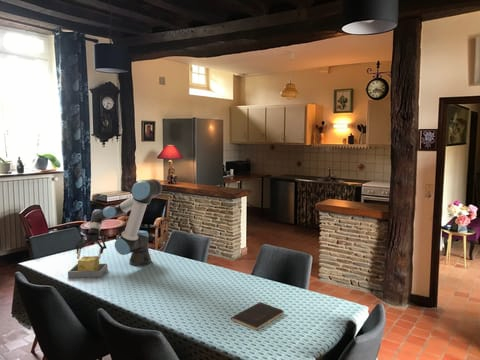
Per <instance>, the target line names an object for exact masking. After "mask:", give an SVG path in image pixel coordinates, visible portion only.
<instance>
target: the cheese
mask: <svg viewBox="0 0 480 360" xmlns="http://www.w3.org/2000/svg"><path fill="white" fill-rule="evenodd" d="M77 264H78V271H99V264H100V259H99V258H98V255H96V256H95V255H91V256H85V255H84V256H83V257H81V258H79V259H77Z"/></svg>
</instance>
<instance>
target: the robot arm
mask: <svg viewBox="0 0 480 360" xmlns="http://www.w3.org/2000/svg"><path fill="white" fill-rule="evenodd" d="M131 188H132V189H131V193H132V196H130V197H129V198H127V199H125V200H124V201H123V202H121V203H119V204H117V205H115V206H106V207H104V208H103V209H99V208H98V209H94V210H93V211H92V213H91V218H90V223H89V226H88V232H87V235H86V236H85V235H82V236H81V238H80V240H79V241H78V242H77V244H76V245H74V249H75V250H76V252H75V253H76V259H77V260H80V256H81V253H82V249H83V248H84V247H85V246H87V245H88V244H93V243H96V244H97V245H98V247H99V249H98V250H99V251H98V255H97V256H98V258H99V260H100V259H101V258H102V257H101V255H103V253H104V250H105V249H107V245H106V243H105V240H104V235H100V234H101V228H102V224H103V222H105V221H107V220H108V219H112V218H116V217H121V216H125V215H126V214H128V212H130V213H129V216H128V220H127V223H126V225H125V226H126V227H125V228H124V231H122V232H121V233H120V237H119V238H117V239H116V240H115V242H114V248H115V250H116V252H117V253H118V254H119V255H122V256H126V255H129V254H130V257H129V264H130V265H132V266H137V267H138V266H146V265H149V264H151V263H152V257H151V254H150V252H149V251H150V250H149V232H148V231H147V230H140V227H141V225H142V221H143V218H144V214H145V212H146V209H147V205H149V204H150V203H151V201H152V199H154V198H156V197H157V196H160V195H161V194H162V191H163V185H162V183H161V182H160V181H158V179H149V180H139V181H137V182H135V183H134V184H133V186H132V187H131ZM99 240H101V242H102V244H101V243H100V241H99Z"/></svg>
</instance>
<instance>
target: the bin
mask: <svg viewBox="0 0 480 360" xmlns="http://www.w3.org/2000/svg"><path fill="white" fill-rule="evenodd" d="M108 267H109V266H108V263H99V271H78V263H76V264H75V265H74V266H72V268H70V269H69V270H68V271H67V279H69V280H70V279H73V280H74V279H101V278H102V277H103V276H104V275H105V274H106V272H108Z"/></svg>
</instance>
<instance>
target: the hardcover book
mask: <svg viewBox="0 0 480 360" xmlns="http://www.w3.org/2000/svg"><path fill="white" fill-rule="evenodd" d="M284 312H285V311H284V310H283V309H280V308H278V307H275V306H272V305H269V304H266V303H264V302H261V301H260V302H258V303H256V304H254V305H252V306H250V307H248V308H246V309H245V310H242V311H241V312H238V313H237V314H234V315H233V316H231V318H230V320H231V321H234V322H236V323H238V324H240V325H242V326H245V327H247V328H250V329H252V330H253V331H258V330H259V329H261V328H262V327H264V326H265V325H267V324H269V323H271V322H272V321H273V320H275V319H277V318H279V317H280V316H282V315H283V314H284ZM257 329H258V330H257Z"/></svg>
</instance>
